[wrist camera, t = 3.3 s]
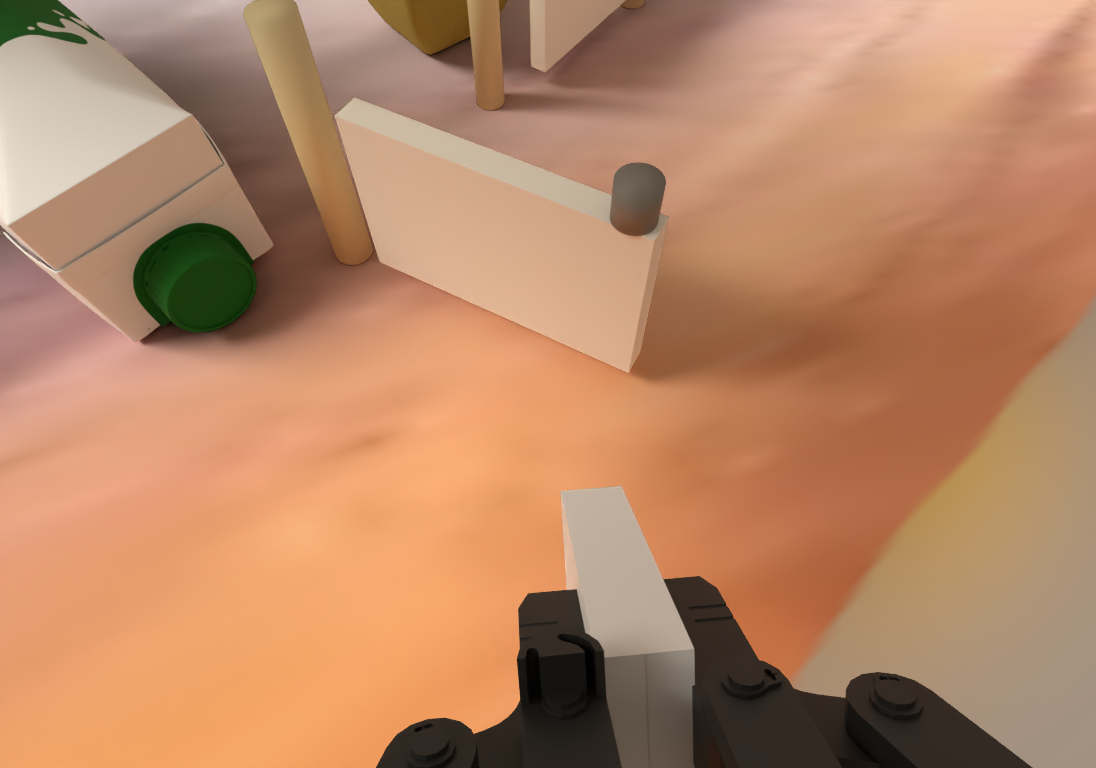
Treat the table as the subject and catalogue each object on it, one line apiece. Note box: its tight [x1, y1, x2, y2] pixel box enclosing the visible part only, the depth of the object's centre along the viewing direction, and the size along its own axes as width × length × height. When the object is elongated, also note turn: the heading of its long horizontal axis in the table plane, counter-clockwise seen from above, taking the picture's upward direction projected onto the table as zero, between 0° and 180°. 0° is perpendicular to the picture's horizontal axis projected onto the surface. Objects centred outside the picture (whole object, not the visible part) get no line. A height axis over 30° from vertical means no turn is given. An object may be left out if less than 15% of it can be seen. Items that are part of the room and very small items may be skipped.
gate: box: [335, 97, 669, 373], centre depth 27 cm, size 13×2×10 cm, turn 62°
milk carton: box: [0, 0, 273, 342], centre depth 31 cm, size 9×9×20 cm
